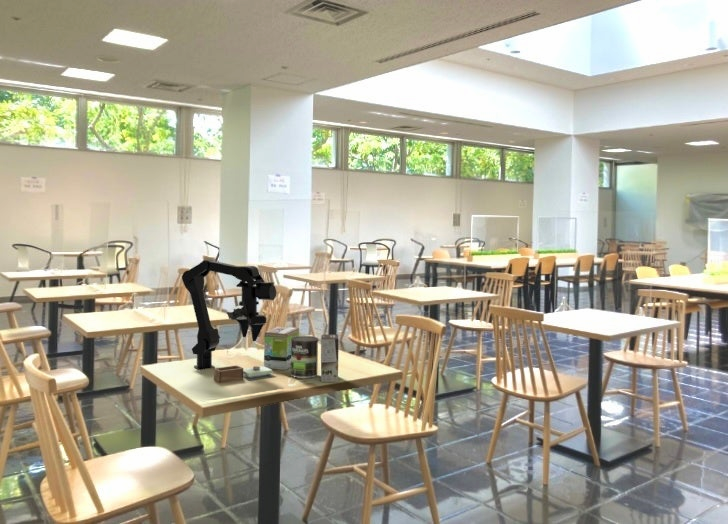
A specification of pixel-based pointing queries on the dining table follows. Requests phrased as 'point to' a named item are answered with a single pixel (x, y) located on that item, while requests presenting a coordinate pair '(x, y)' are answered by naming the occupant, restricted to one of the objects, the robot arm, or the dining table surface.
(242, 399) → the dining table surface
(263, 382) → the dining table surface
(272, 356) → the tea box
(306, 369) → the coffee can
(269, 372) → the lid
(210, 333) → the robot arm
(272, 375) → the coaster
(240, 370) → the box
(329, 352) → the coffee box
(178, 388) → the dining table surface
